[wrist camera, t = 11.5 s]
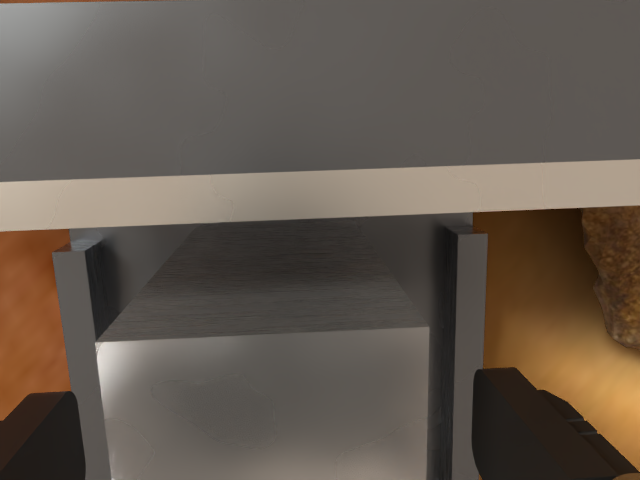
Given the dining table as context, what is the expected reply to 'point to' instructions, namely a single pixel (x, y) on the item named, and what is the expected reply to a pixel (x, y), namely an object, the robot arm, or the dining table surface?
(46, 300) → the dining table surface
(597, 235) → the decorative rock
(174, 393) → the steel block
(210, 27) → the vise
